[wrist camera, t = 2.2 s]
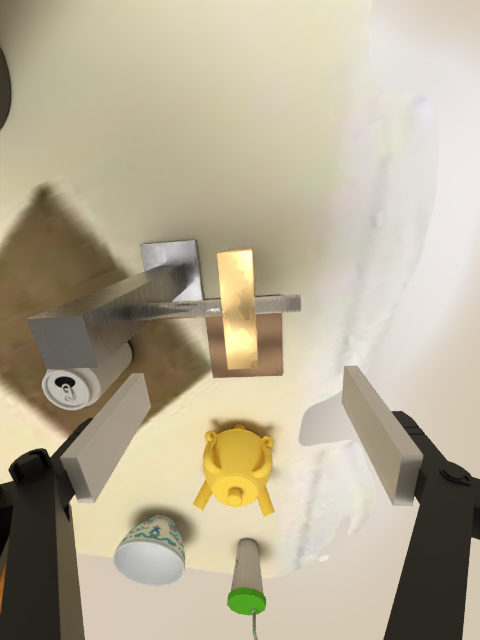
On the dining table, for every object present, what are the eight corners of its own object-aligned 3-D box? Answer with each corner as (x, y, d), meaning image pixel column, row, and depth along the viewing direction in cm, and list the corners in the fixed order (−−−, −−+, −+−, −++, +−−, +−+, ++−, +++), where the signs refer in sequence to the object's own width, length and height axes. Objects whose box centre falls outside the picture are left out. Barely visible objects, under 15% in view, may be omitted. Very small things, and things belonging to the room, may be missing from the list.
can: (126, 327, 42) (80, 363, 31) (139, 365, 44) (101, 412, 33) (85, 332, 43) (25, 370, 31) (100, 370, 45) (49, 417, 34)
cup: (230, 533, 59) (222, 629, 45) (263, 533, 59) (266, 630, 44) (233, 554, 62) (226, 650, 48) (265, 554, 61) (268, 652, 47)
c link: (230, 249, 27) (216, 253, 17) (252, 247, 27) (251, 250, 17) (236, 328, 30) (227, 369, 20) (257, 327, 29) (258, 368, 20)
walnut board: (203, 299, 40) (203, 300, 39) (280, 295, 39) (281, 296, 38) (213, 376, 44) (213, 377, 44) (282, 373, 43) (282, 375, 43)
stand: (143, 243, 37) (-29, 269, 15) (277, 233, 36) (318, 243, 13) (155, 308, 40) (33, 409, 18) (279, 301, 39) (314, 401, 17)
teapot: (201, 467, 52) (188, 528, 42) (202, 415, 48) (188, 468, 37) (270, 474, 52) (275, 536, 42) (278, 422, 47) (285, 477, 37)
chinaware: (198, 543, 61) (190, 586, 54) (139, 544, 63) (124, 586, 55) (186, 501, 56) (176, 541, 49) (122, 503, 57) (103, 542, 50)
